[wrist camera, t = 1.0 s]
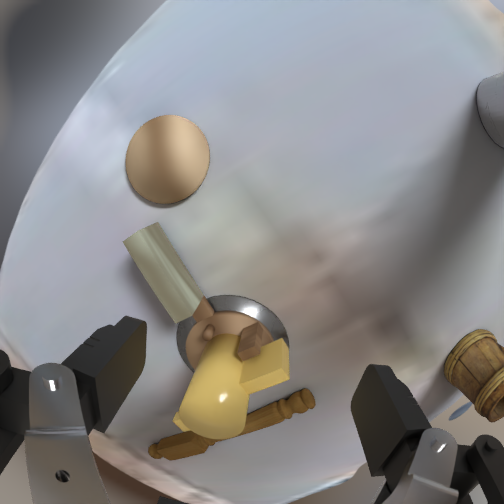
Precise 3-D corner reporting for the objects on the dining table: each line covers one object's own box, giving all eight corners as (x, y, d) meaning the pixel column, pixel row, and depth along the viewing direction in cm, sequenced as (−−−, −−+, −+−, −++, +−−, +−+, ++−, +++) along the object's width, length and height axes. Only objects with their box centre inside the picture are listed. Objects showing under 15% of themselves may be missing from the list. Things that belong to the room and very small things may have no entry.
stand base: (252, 274, 30) (252, 275, 30) (307, 365, 32) (308, 366, 32) (156, 323, 33) (156, 324, 32) (216, 399, 35) (216, 400, 35)
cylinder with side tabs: (215, 382, 32) (195, 445, 23) (187, 347, 31) (157, 407, 21) (297, 350, 30) (301, 417, 20) (272, 309, 29) (267, 371, 19)
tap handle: (317, 412, 31) (155, 463, 38) (315, 396, 34) (160, 451, 41) (305, 398, 31) (142, 453, 37) (303, 382, 34) (148, 441, 40)
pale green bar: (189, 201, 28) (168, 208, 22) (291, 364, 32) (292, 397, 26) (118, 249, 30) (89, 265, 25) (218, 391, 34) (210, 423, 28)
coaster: (182, 99, 26) (180, 98, 25) (226, 172, 28) (225, 172, 27) (115, 149, 28) (112, 149, 27) (154, 219, 29) (151, 220, 29)
